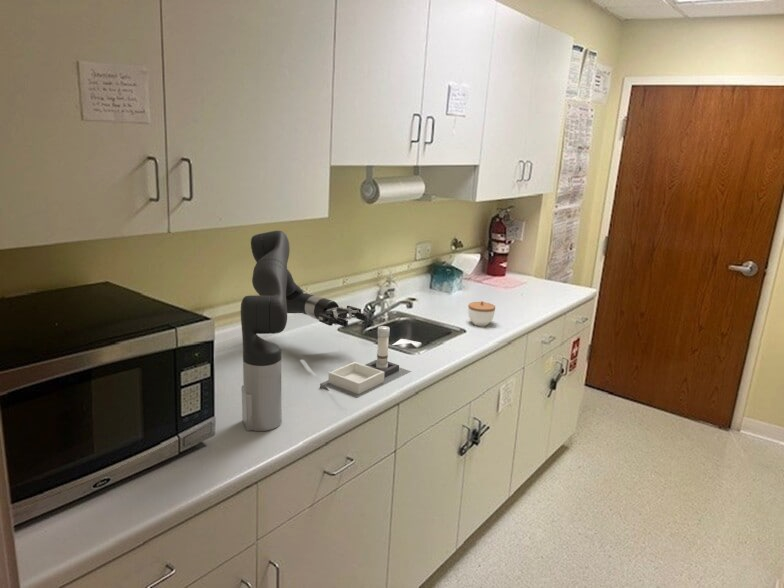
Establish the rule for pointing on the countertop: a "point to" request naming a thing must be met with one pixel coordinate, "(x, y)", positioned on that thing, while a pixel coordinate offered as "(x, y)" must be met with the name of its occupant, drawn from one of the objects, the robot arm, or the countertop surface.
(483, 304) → the lidded jar
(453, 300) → the countertop surface
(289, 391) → the countertop surface
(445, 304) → the countertop surface
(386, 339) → the white capped peg
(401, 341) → the hard drive
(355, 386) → the grey board with tray
